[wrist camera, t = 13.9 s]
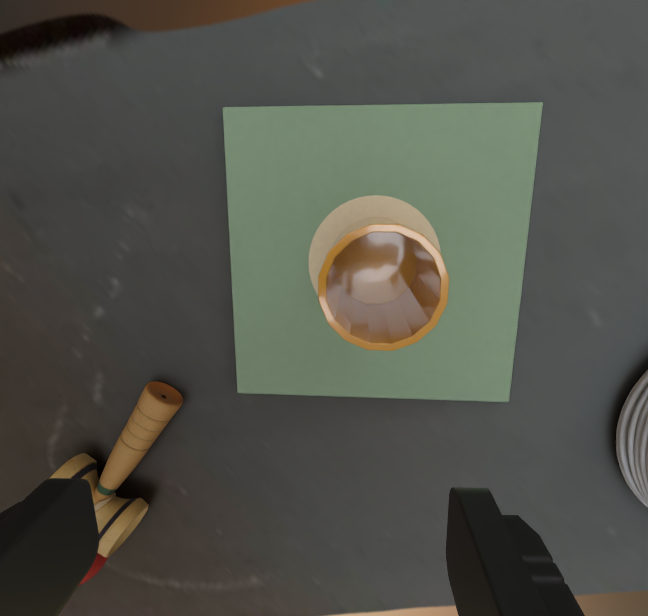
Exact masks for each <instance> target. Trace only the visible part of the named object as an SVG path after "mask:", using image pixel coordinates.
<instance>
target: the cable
mask: <svg viewBox="0 0 648 616" xmlns="http://www.w3.org/2000/svg"><path fill="white" fill-rule="evenodd" d="M616 450H617V458H618V462H619V466H620V469H621V472H622V474H623V477H624V479H625V481H626V482H627V484H628V486H629V487H630V489H631V490H632V492H633V493H634V494H635V495H636V497H637V498H638V499H639V500H640V501H641V502H642V503H643V504H644V505H645V506H646V507H648V370H647V371H646V372H645V373H644V374H643V375H642V377H641V378H640V379H639V380H638V382H637V383H636V384H635V386H634V387H633V388H632V390H631V392H630V393H629V395H628V397H627V399H626V401H625V403H624V405H623V408H622V410H621V413H620V417H619V420H618V424H617V430H616Z"/></svg>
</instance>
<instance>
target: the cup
mask: <svg viewBox="0 0 648 616" xmlns="http://www.w3.org/2000/svg"><path fill="white" fill-rule="evenodd" d="M448 291H449V275H448V272H447V269H446V266H445V264H444V261H443V258H442V255H441V254H440V252H439V251H438V250H437V249H436V248H435V246H434V245H433V244H432V243H431V242H430V241H429V240H428V239H427V238H426V237H425V236H424V235H423V234H421V233H419V232H417V231H415V230H413V229H411V228H409V227H407V226H405V225H403V224H401V223H399V222H396V221H394V220H392V219H389V218H386V217H368V218H364V219H361V220H358V221H356V222H354V223H352V224H350V225H349V226H348V227H347V228H346V229H344V230H343V231H342V233H341V234H340V235H339V236H338V237H337V238H336V239H335V241H334V243H333V245H332V247H331V248H330V250H329V252H328V254H327V256H326V259H325V261H324V263H323V266H322V268H321V271H320V273H319V276H318V300H319V303H320V306H321V308H322V311H323V313H324V315H325V318H326V320H327V322H328V324H329V325H330V326H331V327H332V328H333V329H334V330H335V331H336V332H337V333H338V334H339V335H340V336H341V337H342V338H343V339H344V340H346V341H347V342H350V343H352V344H354V345H357V346H359V347H362V348H364V349H366V350H378V351H394V350H397V349H400V348H403V347H405V346H408V345H411V344H414V343H416V342H418V341H419V340H420V339H421V338H423V337H424V336H425V335H426V334H427V333H428V332H429V331H431V330H432V329H433V328H434V327H435V326H436V325H437V323H438V321H439V319H440V317H441V315H442V313H443V311H444V309H445V307H446V305H447V302H448Z"/></svg>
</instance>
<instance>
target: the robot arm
mask: <svg viewBox="0 0 648 616" xmlns="http://www.w3.org/2000/svg"><path fill="white" fill-rule="evenodd" d="M98 548H99V531H98V526H97V520H96V514H95V508H94V503H93V497H92V491H91V487H90V484H89V482H88V481H87V480H86V479H73V478H50V479H47V480H45V481H44V482H43V483H42V484H40V485H39V486H38V487H37V488H36V489H35V490H34V491H33V492H32V493H31V494H30V495H29V496H27V497H26V498H25V499H24V500H23V501H22V502H19V503H17V504H15V505H14V506H12V507H10V508H9V509H7V510H5V511H4V512H2V513H0V616H58V614H59V613H60V611H61V610H62V609H63V607H64V606H65V604H66V603H67V601H68V600H69V599H70V597H71V596H72V594H73V593H74V591H75V590H76V589H77V587H78V586H79V584H80V583H81V581H82V580H83V579H84V577H85V576H86V574H87V573H88V571H89V570H90V568H91V567H92V565H93V563H94V561H95V558H96V555H97V552H98ZM446 560H447V569H448V576H449V581H450V585H451V589H452V592H453V596H454V600H455V604H456V608H457V611H458V615H459V616H585V615H584V614H583V612H582V610H581V608H580V606H579V605H578V603H577V601H576V600H575V598H574V596H573V594H572V592H571V591H570V589H569V587H568V585H567V584H565V583H564V578H563V576H562V575H561V573H560V571H559V569H558V568H557V566H556V564H555V563H553V560H552V557H551V555H550V553H549V552H548V550H547V548H546V546H545V545H544V543H543V541H542V539H541V537H540V536H539V534H537V533H536V532H535V531H534V530H533V529H532V528H531V527H530V526H529V525H528V524H527V523H525V522H524V521H523V520H522V519H521V518H520V517H519V516H518V515H501V512H500V510H499V508H498V506H497V504H496V502H495V500H494V498H493V496H492V494H491V492H490V490H489V489H487V488H451V490H450V494H449V508H448V524H447V540H446Z"/></svg>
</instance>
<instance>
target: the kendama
mask: <svg viewBox="0 0 648 616" xmlns="http://www.w3.org/2000/svg"><path fill="white" fill-rule="evenodd" d="M182 404H183V398H182V396H181V394H180V393H179V392H178V391H177V390H176V389H174V388H173V387H171V386H169V385H168V384H165V383H162V382H155V381H153V382H149V383H147V384H146V386H145V388H144V390H143V392H142V394H141V396H140V398H139V400H138V403H137V404H136V406H135V408H134V410H133V413H132V414H131V416H130V418H129V420H128V422H127V424H126V426H125V427H124V429H123V431H122V433H121V435H120V436H119V438H118V440H117V442H116V444H115V446H114V448H113V450H112V452H111V454H110V456H109V458H108V461H107V463H106V465H105V468H104V470H103V472H102V475H101V477H100V479H99V478H98V475H97V461H96V460H94V459H93V458H92V457H90V456H89V455H87V454H86V453H82V454H79V455H76V456H74V457H73V458H71V459H70V460H68V461H67V462H66V463H65V464H63V465H62V466H61V467H60V468H59V469H58V470H57V471H55V472H54V473H53V474H52V475H51V477H50V478H73V479H86V480H87V481H88V482H89V484H90V487H91V491H92V497H93V503H94V508H95V514H96V520H97V526H98V531H99V548H98V552H97V555H96V558H95V561H94V563H93V565H92V567H91V568H90V570H89V571H88V573H87V574H86V576H85V577H84V579H83V580H82V581H81V583H80V584H79V585H81V584H83V583H85V582H86V581H88V580H89V579H91V578H92V577H93V576H94V575H95V574H97V573H98V571H99V570H100V569H101V568H102V567H103V565H104V564H105V562H106V561H107V559H108V557H109V556H110V555H112V554H113V553H114V552H115V551H116V550H117V549H118V548H119V546H120V545H121V544H122V543H123V542H124V541H125V540H126V539H127V537H128V536H129V535H130V534H131V533H132V531H133V530H134V529H135V528H136V526H137V525H138V523H139V522H140V521H141V519H142V518H143V517H144V515H145V513H146V512H147V510H148V506H149V504H147V503H146V502H145V501H144V500H143V499H142V498H134V499H123V498H119V497H116V493H114V492H115V491H116V490H117V489H118V487H119V486H120V485H121V484H122V483H123V481H124V480H125V479H126V478H127V477H128V476H129V474H130V473H131V472H132V471H133V470H134V468H135V467H136V466H137V465H138V463H139V462H140V461H141V459H142V458H143V457H144V455H145V454H146V452H147V451H148V450H149V448H150V447H151V445H152V444H153V443H154V441H155V440H156V438H157V437H158V436H159V434H160V433H161V432H162V430H163V429H164V428H165V426H166V425H167V423H168V422H169V420H170V419H171V418H172V417H173V415H174V414H175V413H176V412H177V410H178V409H179V408H180V407H181V405H182ZM50 478H49V479H50Z"/></svg>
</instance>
